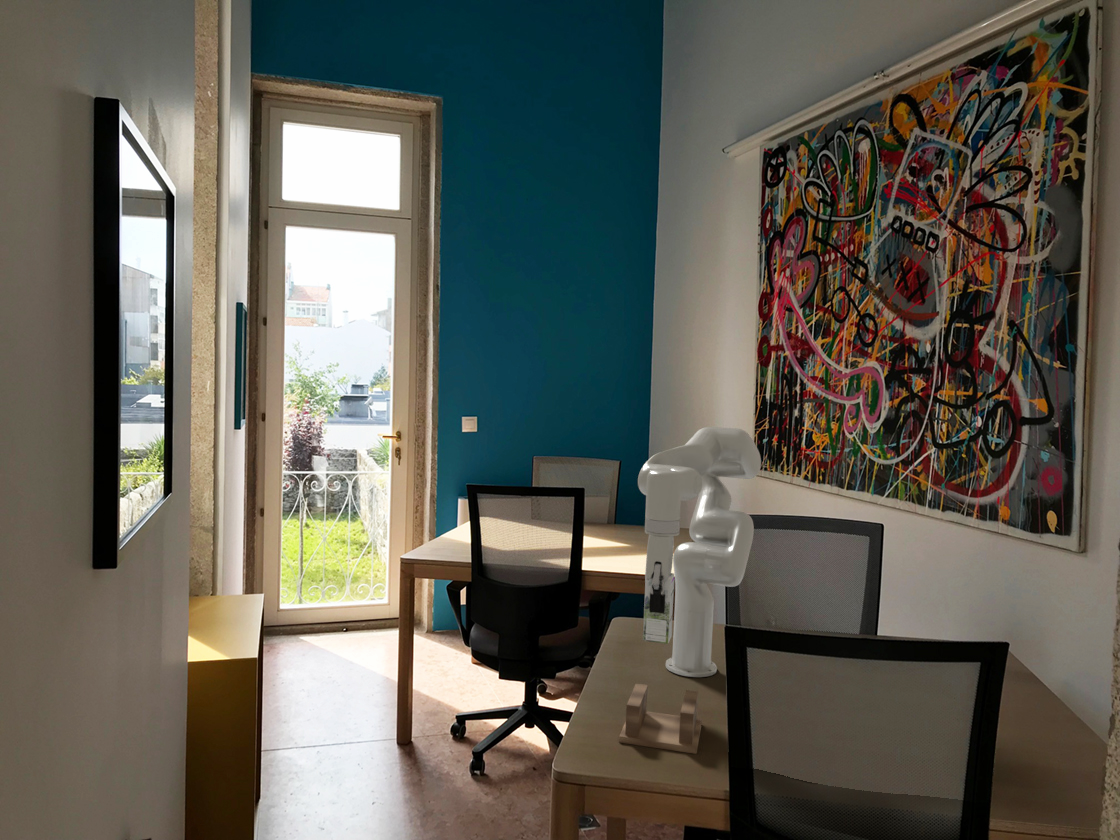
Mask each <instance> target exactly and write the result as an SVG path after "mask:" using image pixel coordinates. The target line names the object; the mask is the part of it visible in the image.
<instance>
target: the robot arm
mask: <svg viewBox="0 0 1120 840" xmlns="http://www.w3.org/2000/svg"><path fill="white" fill-rule="evenodd" d="M761 459H762V458H761V454H760V451H759V449H758V447H757V445H756V443H755V442H754V440H753V438H752V436H751V435H750V434H749V433H748V432H746V431H745V430H743V429H741V428H733V427H732V428H731V427H721V426H720V427H718V426H705V427H703V428H700V429H698V430H697V431H696V432H695V433H694V435H693V436H691V438H689V440H688V441H687V442H686V443H685V444H684V445H679V446H677V447H676V446H675V447H673V448H669V449H666V450H664V451H660V452H657V453H655V454H654V455H652V456H651V457H650V458H648V460H646V461H645V463H643V465H642V467H641V469H640V471H639V474H638V476H637V477H638V478H637V487H638V489H639V491H640V492H641V494H643V495H644V496H645V516H644V517H645V518H644V519H645V520H644V533H645V534H646V535H648V538H647V547H646V548H647V549H646V561H645V571H644V572H645V573H644V579H646V580H649V579H650V578H651V576H652V583H651V593H650V606H649V611H650V612H655V613H664V611H665V594H664V586H665V582H666V581H667V580H668V578H669V576H670V573H672V568H673V571H674V572H673V573H674V592H675V596H674V614H673V616H674V617H673V632H672V637H673V638H672V652H671V653H672V655H671V657H669V658H668V659H666V661H665V668H666V669H667V670H668V671H669V672H671V673H673V674H676V675H679V676H683V677H689V678H705V677H706V678H707V677H711V676H713V675H715V674H716V673H717V669H718V666H717V665H716V663H715V662H714V661H712V646H713V645H712V643H713V629H714V628H713V626H714V609H715V608H714V607H715V606H714V603H715V600H714V597H713V593H712V592H711V590H710V588H709V586H708V585H714V586H715V585H717V586H721V587H731V588H733V587H738V586H739V585H741V582H742V580H743V579H744V577H745V572H746V568H747V566H748V565H747V564H748V560H749V555H750V552H751V549H752V545H753V539H754V532H755V531H754V529H755V528H754V520H753V519H752V517H751V516H750V515H749V514H748V513H746V512H744V511H741V510H740V511H738V510H732V509H730V508H731V505H732V495H731V493H730V492H729V490H728V488H727V487H726V485H725V484H724V482H723V481H721V479H720V477H722V478H731V479H743V480H752V479H754V478H756V477H757V476H758V475H759V473H760V471H761V465H762V460H761ZM697 497H698V498H697ZM696 498H697V500H696V503H695V507H694V509H693V513H692V516H691V520H690V524H689V530H688V531H689V537H690V538H691V540H692V541H688V542H687V541H686V542H683V543H680V544H679V545H678V546H676V548H675V550H674V547H675V546H674V542H675V541H674V539H675V537H676V536H679V535H680V531H681V530H680V526H681V506H682V505H681V504H682V502H681V501H684V502H685V501H686V502H688V501H692V500H694V499H696ZM693 541H694V542H693ZM660 577H662V578H663V580H660ZM660 583H662V586H661V584H660Z"/></svg>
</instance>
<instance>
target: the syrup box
mask: <svg viewBox="0 0 1120 840" xmlns="http://www.w3.org/2000/svg"><path fill="white" fill-rule="evenodd" d="M644 579H645V578H644ZM660 580H663V578H662V577H660ZM644 583H645V586H644V603H643V604H644V605H643V606H644V607H643V633H642V641H643V642H650V643H656V644H657V643H658V644H664V645H665V644H666V645H667V644H669V643H670V641H671V639H672V637H673V612H674V611H673V610H674V609H673V607H674V605H673V604H674V592H675V573H674V572H671V573H670V576H669V578H668V580H667V581H666V582H665V586H664V594H665V611H664V613H655V612H650V611H649V606H650V593H651V583H652V576H651V578H650V579H649V580H646V579H645V580H644ZM660 584H661V586H662V583H660Z"/></svg>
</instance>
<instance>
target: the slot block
mask: <svg viewBox="0 0 1120 840" xmlns="http://www.w3.org/2000/svg"><path fill="white" fill-rule="evenodd" d="M648 687H649V686H648V685H647V684H643V683H635V685H634V686H633V689H632V692H631V694H630V696H629V699H628V701H627V703H626V708H625V709H626V711H625V722H624V724H623V726H622V729H621V732H620V734H619V737H618V738H619V739H618V743H622V744H628V745H634V746H641V747H650V748H654V749H655V748H656V749H661V750H668V751H669V750H670V751H676V752H680V753H689V754H695V755H697V752H698V747H699V741H700V735H701V730H702V726H701V725H702V724H703V719H702V718H698V705H699V704H698V703H699V691H697V690H696V691H695V690H689V689H688V690H687V689H686V690H685V693H684V697H683V701H682V705H681V708H680V712H679V713H680V715H676V714H669V713H661V712H654V711H649V710H647V709H648V708H647V706H648Z"/></svg>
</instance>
